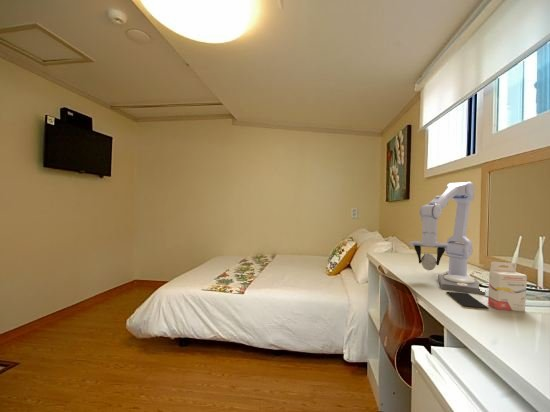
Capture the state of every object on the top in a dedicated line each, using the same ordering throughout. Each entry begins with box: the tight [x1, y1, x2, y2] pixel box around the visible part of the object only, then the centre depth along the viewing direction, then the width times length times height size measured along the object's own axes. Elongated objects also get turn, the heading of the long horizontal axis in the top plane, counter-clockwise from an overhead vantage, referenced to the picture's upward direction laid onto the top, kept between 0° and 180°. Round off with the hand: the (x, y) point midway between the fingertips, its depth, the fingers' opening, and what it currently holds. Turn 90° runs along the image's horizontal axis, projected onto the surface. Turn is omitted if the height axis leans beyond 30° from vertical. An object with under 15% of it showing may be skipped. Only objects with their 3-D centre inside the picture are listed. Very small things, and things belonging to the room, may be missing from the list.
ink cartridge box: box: [487, 261, 528, 312], centre depth 92 cm, size 9×5×15 cm, turn 84°
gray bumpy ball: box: [421, 253, 438, 271], centre depth 120 cm, size 6×7×7 cm
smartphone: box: [445, 291, 490, 311], centre depth 97 cm, size 7×1×15 cm
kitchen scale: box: [437, 274, 486, 295], centre depth 115 cm, size 16×14×3 cm
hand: (428, 263), depth 120 cm, fingers closed on gray bumpy ball, 6 cm apart
